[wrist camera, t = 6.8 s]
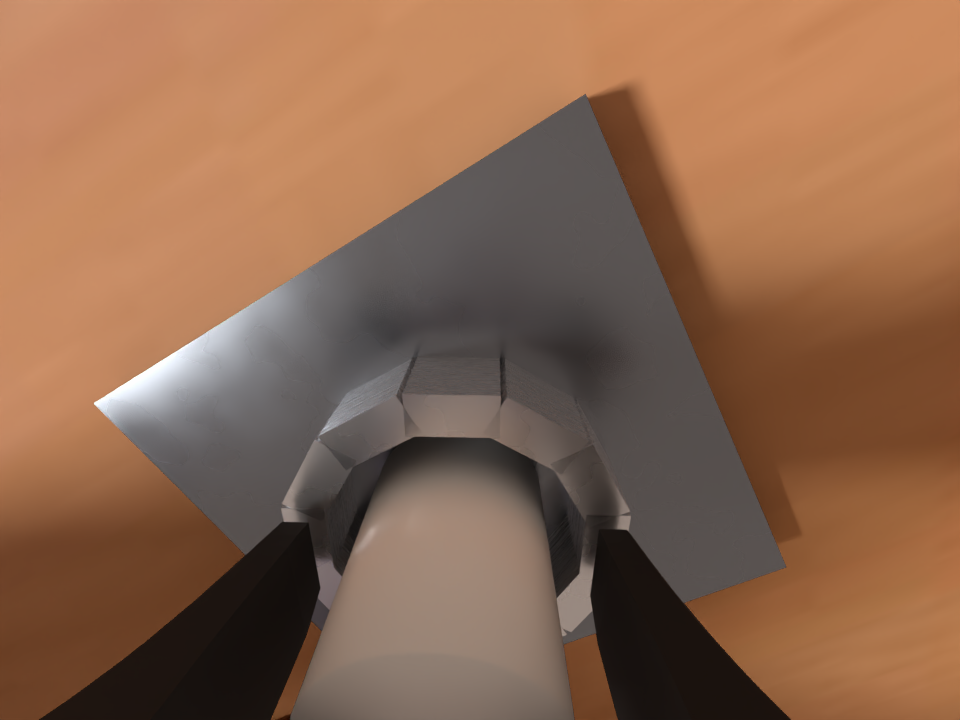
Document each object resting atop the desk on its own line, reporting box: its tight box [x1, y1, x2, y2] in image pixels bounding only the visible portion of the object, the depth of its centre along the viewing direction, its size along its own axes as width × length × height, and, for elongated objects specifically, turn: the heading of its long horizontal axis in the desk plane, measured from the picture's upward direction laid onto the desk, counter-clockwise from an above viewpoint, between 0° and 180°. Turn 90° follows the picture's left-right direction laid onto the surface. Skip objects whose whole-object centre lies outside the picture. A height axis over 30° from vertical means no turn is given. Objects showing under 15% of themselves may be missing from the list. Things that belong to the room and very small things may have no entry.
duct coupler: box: [290, 437, 575, 720], centre depth 10 cm, size 4×4×6 cm
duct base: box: [94, 94, 786, 644], centre depth 12 cm, size 14×14×3 cm
